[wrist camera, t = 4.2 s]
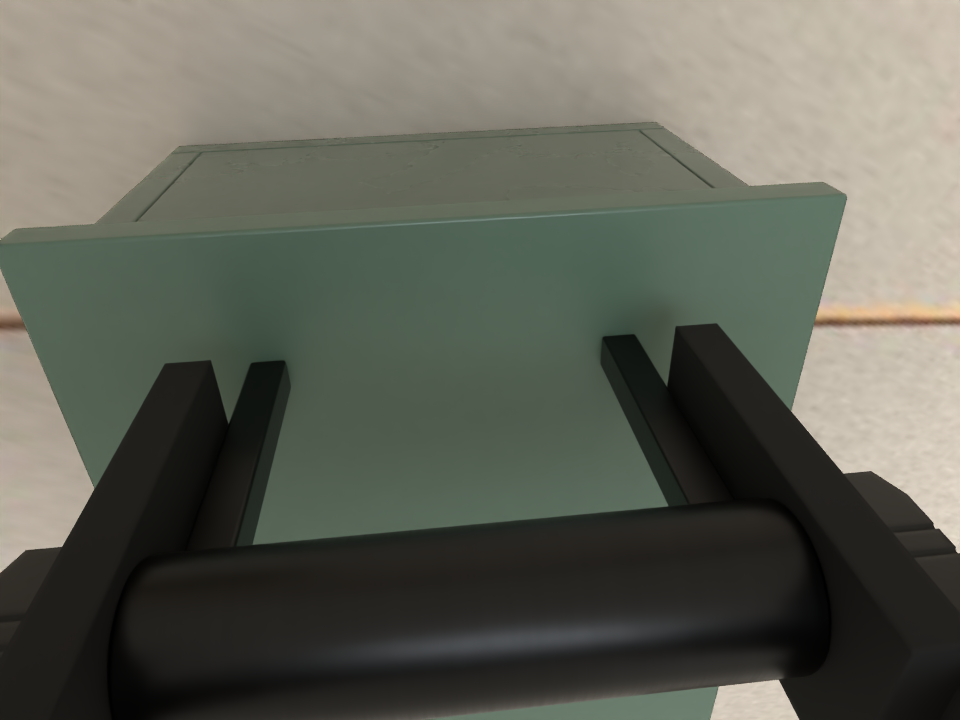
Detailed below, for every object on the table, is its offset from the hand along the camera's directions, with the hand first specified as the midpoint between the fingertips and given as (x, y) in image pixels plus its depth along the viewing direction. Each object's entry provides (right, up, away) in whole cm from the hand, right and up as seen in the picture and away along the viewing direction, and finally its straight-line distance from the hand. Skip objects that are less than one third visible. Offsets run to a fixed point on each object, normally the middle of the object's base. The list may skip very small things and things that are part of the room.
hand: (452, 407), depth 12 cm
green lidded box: (0, -5, +6) cm, 8 cm away
